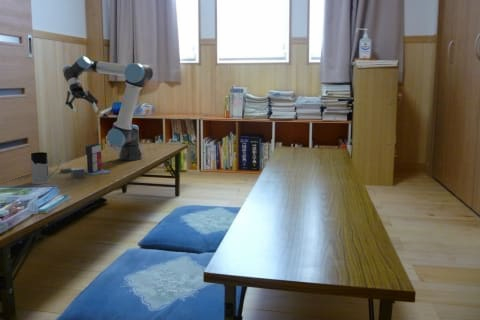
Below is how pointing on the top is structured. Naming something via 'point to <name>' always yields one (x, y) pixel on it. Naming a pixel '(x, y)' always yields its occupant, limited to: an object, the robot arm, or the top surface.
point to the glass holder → (40, 168)
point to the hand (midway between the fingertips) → (86, 112)
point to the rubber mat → (97, 172)
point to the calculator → (93, 158)
